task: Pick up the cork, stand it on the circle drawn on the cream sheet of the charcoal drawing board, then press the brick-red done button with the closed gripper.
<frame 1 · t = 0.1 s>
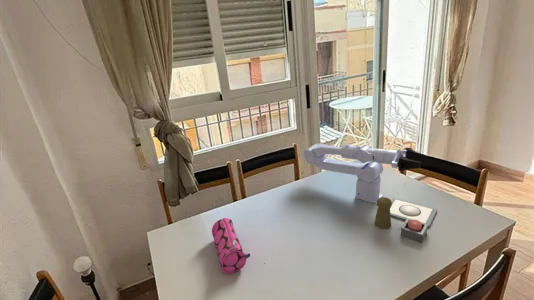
hand: (423, 161, 115), 22 cm above the table, tool horizontal, fingers open, 7 cm apart
done button: (414, 226, 109), point 3 cm above the table, slide at 0.0 cm
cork: (382, 224, 117), on the table
button base: (413, 234, 110), on the table
pencil case: (230, 254, 109), on the table
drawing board: (409, 212, 122), on the table
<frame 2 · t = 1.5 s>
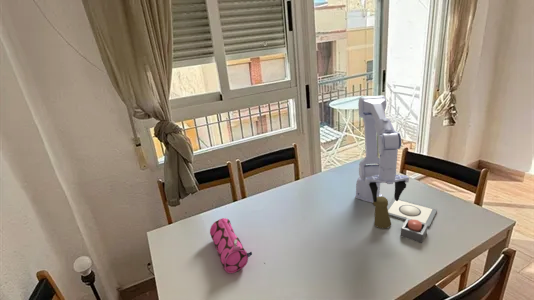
hand: (385, 200, 112), 11 cm above the table, tool pointing down, fingers open, 7 cm apart
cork: (382, 223, 117), on the table, touching gripper
everything else where it was.
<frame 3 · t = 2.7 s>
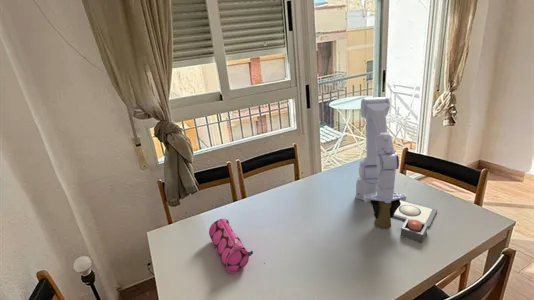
hand: (383, 216, 116), 3 cm above the table, tool pointing down, fingers closed on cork, 5 cm apart
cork: (382, 224, 117), on the table, touching gripper
everything else where it was.
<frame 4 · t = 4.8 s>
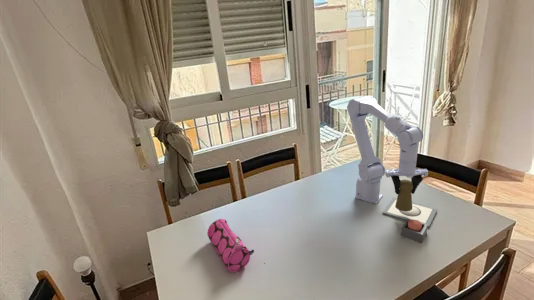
hand: (404, 192, 117), 10 cm above the table, tool pointing down, fingers closed on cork, 5 cm apart
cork: (403, 207, 118), point 4 cm above the table, touching gripper
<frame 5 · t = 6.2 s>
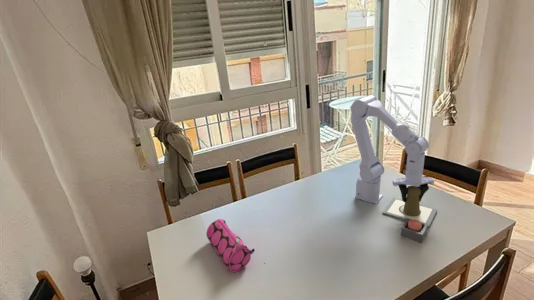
hand: (411, 200, 120), 5 cm above the table, tool pointing down, fingers closed on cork, 5 cm apart
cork: (411, 212, 121), point 1 cm above the table, touching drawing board, gripper
when the fingers open (5 cm above the table, at t = 6.6 s): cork stays where it is, resting on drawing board.
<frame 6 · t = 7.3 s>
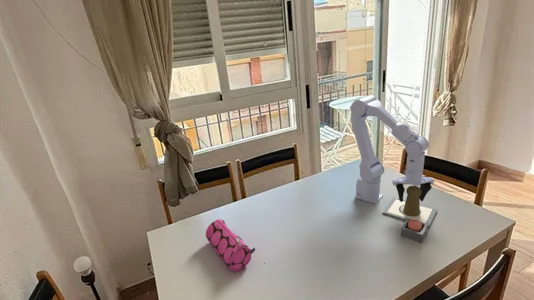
hand: (410, 200, 120), 6 cm above the table, tool pointing down, fingers open, 7 cm apart
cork: (411, 212, 121), point 1 cm above the table, touching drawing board
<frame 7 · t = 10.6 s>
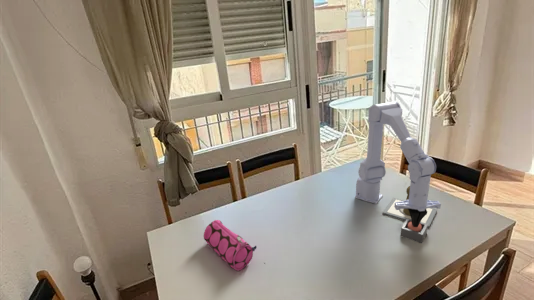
hand: (414, 225, 109), 4 cm above the table, tool pointing down, fingers closed, pressing on done button
done button: (414, 228, 109), point 3 cm above the table, slide at 0.9 cm, touching gripper
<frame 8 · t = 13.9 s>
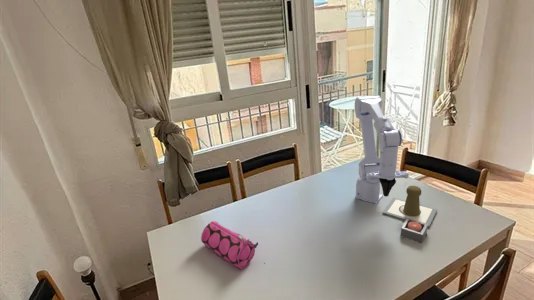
hand: (385, 195, 116), 10 cm above the table, tool pointing down, fingers closed
done button: (414, 228, 109), point 3 cm above the table, slide at 0.9 cm
at the end: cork 1.1 cm off-centre on the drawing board, point 0.8 cm above the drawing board's base; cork tilted 0°; done button slide at 0.9 cm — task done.
